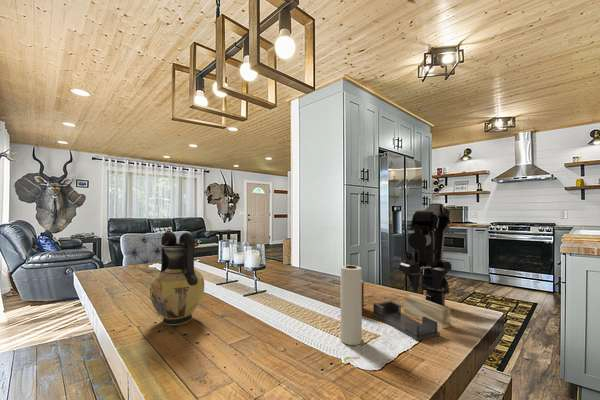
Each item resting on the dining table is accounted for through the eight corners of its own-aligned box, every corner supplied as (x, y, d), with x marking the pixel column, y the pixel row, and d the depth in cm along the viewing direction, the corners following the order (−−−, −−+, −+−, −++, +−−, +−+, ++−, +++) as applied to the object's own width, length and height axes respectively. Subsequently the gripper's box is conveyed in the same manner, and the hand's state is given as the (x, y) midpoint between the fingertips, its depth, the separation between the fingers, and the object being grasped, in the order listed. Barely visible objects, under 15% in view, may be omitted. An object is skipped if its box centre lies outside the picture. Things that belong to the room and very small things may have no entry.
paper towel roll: (357, 348, 78) (357, 269, 78) (337, 342, 81) (337, 267, 81) (365, 337, 84) (365, 265, 84) (346, 333, 87) (347, 263, 88)
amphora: (136, 326, 91) (138, 232, 92) (175, 308, 107) (177, 229, 108) (179, 335, 85) (181, 234, 86) (214, 315, 101) (216, 230, 101)
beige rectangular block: (411, 310, 107) (411, 294, 107) (450, 327, 92) (450, 308, 93) (404, 312, 105) (404, 296, 105) (442, 329, 91) (441, 310, 91)
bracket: (391, 311, 106) (391, 300, 106) (440, 336, 85) (439, 322, 85) (371, 314, 103) (371, 303, 103) (416, 340, 82) (416, 327, 82)
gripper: (427, 242, 110) (428, 282, 110) (388, 244, 104) (388, 287, 103) (452, 246, 100) (452, 290, 100) (410, 249, 93) (411, 296, 93)
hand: (425, 291), depth 99 cm, fingers open, 9 cm apart
